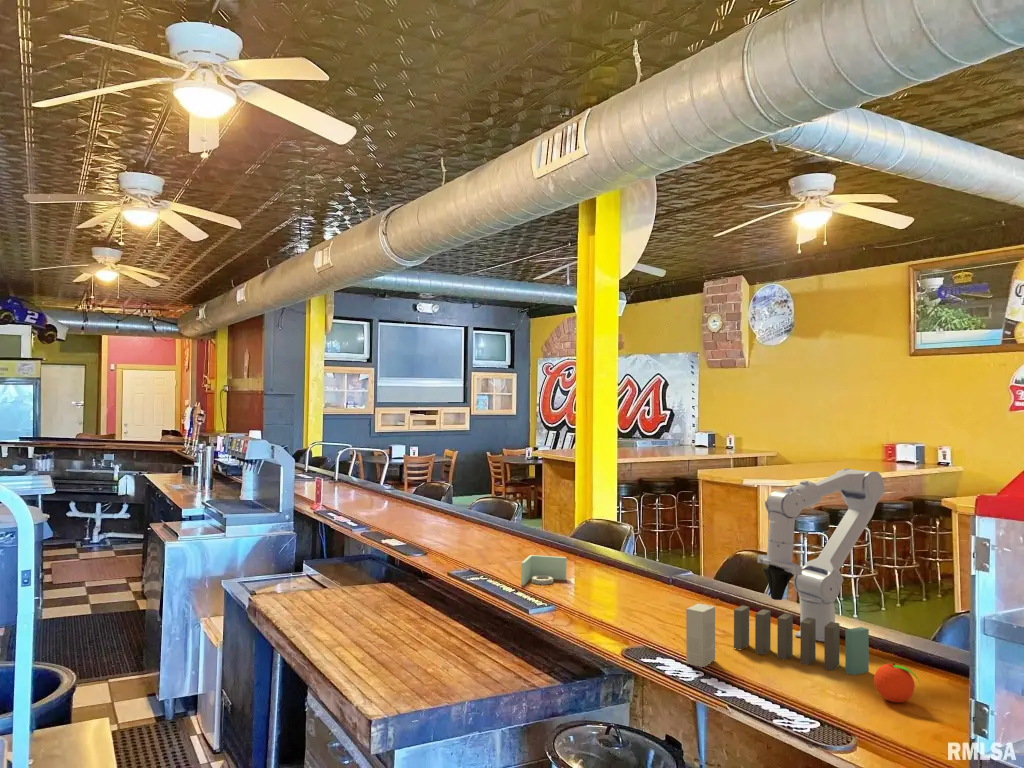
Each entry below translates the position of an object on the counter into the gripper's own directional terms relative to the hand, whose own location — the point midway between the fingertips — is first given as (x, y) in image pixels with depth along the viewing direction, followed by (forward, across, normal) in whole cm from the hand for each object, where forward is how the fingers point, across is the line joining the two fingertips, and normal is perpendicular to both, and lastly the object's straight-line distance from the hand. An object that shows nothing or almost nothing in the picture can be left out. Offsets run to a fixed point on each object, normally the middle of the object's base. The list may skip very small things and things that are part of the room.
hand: (776, 599), depth 177 cm
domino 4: (+10, +14, -1) cm, 17 cm away
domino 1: (+11, +1, -10) cm, 15 cm away
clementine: (+11, +37, +1) cm, 38 cm away
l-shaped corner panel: (+13, -69, -35) cm, 78 cm away
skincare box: (+12, +8, -24) cm, 28 cm away
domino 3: (+10, +9, -4) cm, 15 cm away
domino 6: (+10, +22, +5) cm, 24 cm away
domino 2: (+11, +5, -7) cm, 14 cm away
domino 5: (+10, +18, +2) cm, 20 cm away
